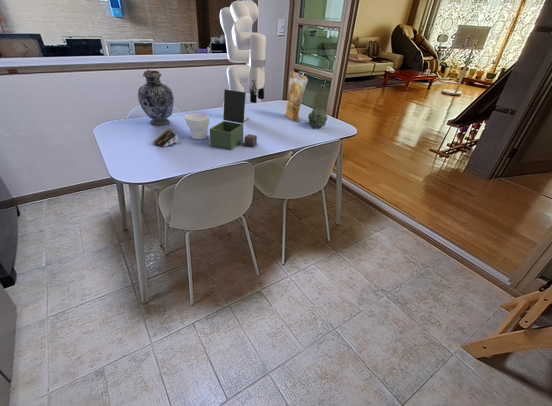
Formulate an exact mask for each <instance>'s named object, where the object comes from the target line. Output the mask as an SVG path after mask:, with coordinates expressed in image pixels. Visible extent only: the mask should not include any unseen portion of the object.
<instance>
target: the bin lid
mask: <svg viewBox="0 0 552 406" xmlns="http://www.w3.org/2000/svg"><path fill="white" fill-rule="evenodd" d="M223 91H224V93H223V121H227V122H233V123H238V124H245V120H244V110H245V111H246V108H245V107H246V93H247V92H239V91H233V90H229V89H224V90H223Z"/></svg>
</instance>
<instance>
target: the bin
mask: <svg viewBox="0 0 552 406" xmlns="http://www.w3.org/2000/svg"><path fill="white" fill-rule="evenodd" d="M209 139H210V146H211V147H214V148H215V147H216V148H221V149H225V150H230V151H231V150H233V149H234V148H236V147H237V146H238V145H239V144H241V143H242V142H243V141H245V137H244V123H237V122H232V121H226V120H223V121H221V122H219V123H217V124H216V125H214V126H212V127H211V128H209Z"/></svg>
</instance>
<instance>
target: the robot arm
mask: <svg viewBox="0 0 552 406" xmlns="http://www.w3.org/2000/svg"><path fill="white" fill-rule="evenodd" d="M259 14H260V13H259V6H258V5H257V3H255V1H252V0H251V1H250V0H234V1H233V2H231V4H230V6H225V7H223V8H221V9H220V12H219V22H220V25H221V28H222V31H223V33H224V39H225V46H226V55H227V60H228V61H229V62H230V63H234V64H232V65H229V66H227V68H226V76H227V82H228V90H233V91H239V92H245V88H244V86H243V85H242V83H248V90H249V103H251V104H252V103H253V104H257V102H258V101H257V100H264V99H265V88H266V87H265V86H266V73H265V69H266V52H267V49H266V48H267V46H266V45H267V37H266V35H265V34H263V33H261V32H251V31H250V30H251V29H252V28H253V25H254V23H256V21H257V20H258V18H259ZM235 63H237V64H235ZM240 63H241V64H240ZM242 63H243V64H242ZM245 113H246V109H245V110H244V121H246V120H247V119H248V115H246V114H245Z"/></svg>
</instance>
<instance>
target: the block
mask: <svg viewBox="0 0 552 406" xmlns="http://www.w3.org/2000/svg"><path fill="white" fill-rule="evenodd" d="M257 141H258V135H256V134H250V133H248V134H247V135H245V136H244V147H249V148H254V147H256V146H257V144H258V142H257Z"/></svg>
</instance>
